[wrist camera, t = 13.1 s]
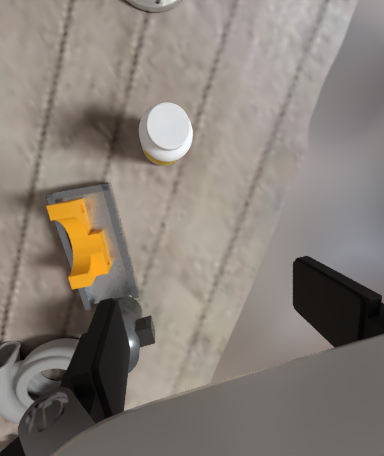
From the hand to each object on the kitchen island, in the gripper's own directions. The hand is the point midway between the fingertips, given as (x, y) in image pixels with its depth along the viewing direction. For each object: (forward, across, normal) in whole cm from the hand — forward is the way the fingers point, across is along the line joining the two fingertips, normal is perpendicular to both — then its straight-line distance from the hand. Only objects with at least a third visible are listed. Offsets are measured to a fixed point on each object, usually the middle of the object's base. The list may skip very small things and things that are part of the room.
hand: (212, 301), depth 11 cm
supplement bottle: (+28, -1, -11) cm, 30 cm away
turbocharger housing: (+28, +26, +26) cm, 46 cm away
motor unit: (+28, +12, +8) cm, 31 cm away
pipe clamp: (+27, +14, +2) cm, 30 cm away
